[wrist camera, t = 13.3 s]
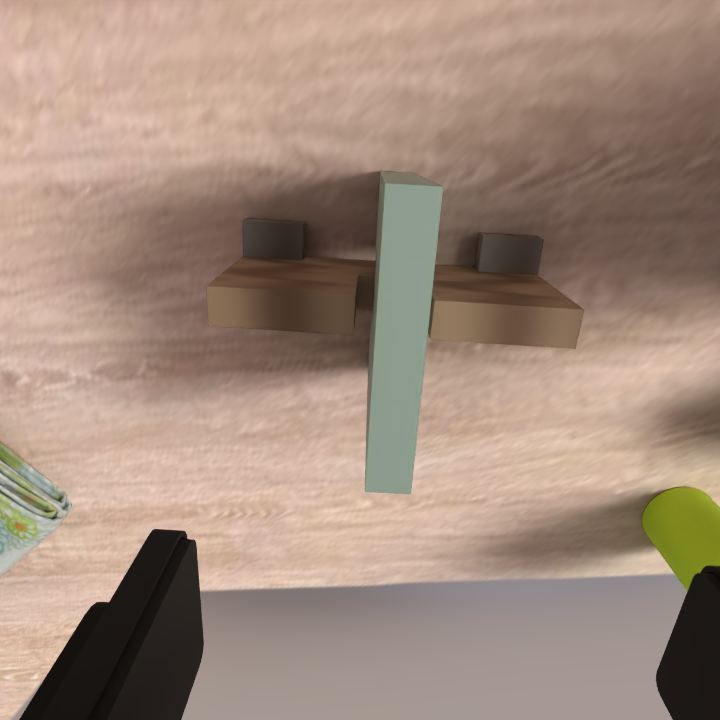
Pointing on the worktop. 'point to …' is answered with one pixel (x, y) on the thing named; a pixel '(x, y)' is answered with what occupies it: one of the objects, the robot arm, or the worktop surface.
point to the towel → (26, 508)
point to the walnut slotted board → (356, 291)
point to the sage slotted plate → (399, 326)
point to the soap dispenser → (684, 530)
